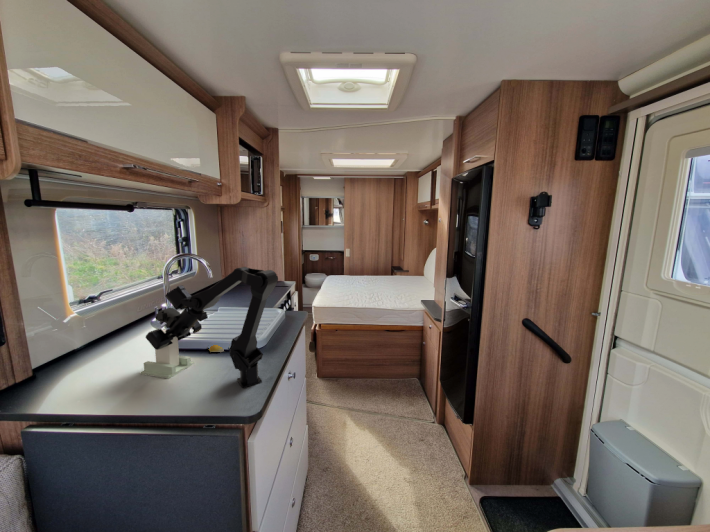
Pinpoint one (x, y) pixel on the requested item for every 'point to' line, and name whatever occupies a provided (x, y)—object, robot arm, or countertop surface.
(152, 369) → the tile rack
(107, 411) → the countertop surface
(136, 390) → the countertop surface
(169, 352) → the beige rectangular box
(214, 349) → the bread roll
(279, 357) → the countertop surface
